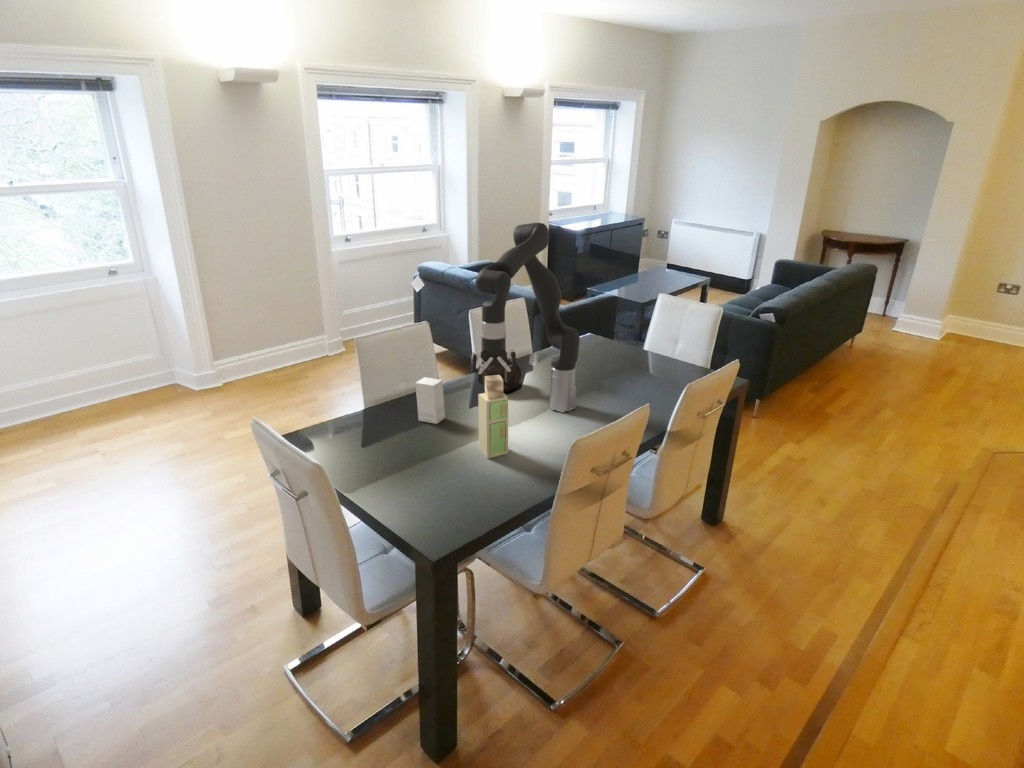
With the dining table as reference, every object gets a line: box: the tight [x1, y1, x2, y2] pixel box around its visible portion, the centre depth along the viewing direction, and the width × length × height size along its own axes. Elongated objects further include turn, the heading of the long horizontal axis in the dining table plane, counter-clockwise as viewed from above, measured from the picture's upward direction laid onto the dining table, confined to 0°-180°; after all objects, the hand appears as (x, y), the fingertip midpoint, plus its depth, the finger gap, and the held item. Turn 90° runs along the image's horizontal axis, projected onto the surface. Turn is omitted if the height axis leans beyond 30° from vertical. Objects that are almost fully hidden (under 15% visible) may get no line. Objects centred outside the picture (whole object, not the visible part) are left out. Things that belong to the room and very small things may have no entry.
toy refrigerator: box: [477, 392, 509, 459], centre depth 205 cm, size 8×7×21 cm
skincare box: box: [415, 376, 446, 425], centre depth 230 cm, size 8×7×16 cm
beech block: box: [484, 375, 504, 399], centre depth 200 cm, size 5×5×6 cm
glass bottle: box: [481, 355, 522, 393], centre depth 257 cm, size 18×18×28 cm
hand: (493, 382), depth 199 cm, fingers open, 8 cm apart
